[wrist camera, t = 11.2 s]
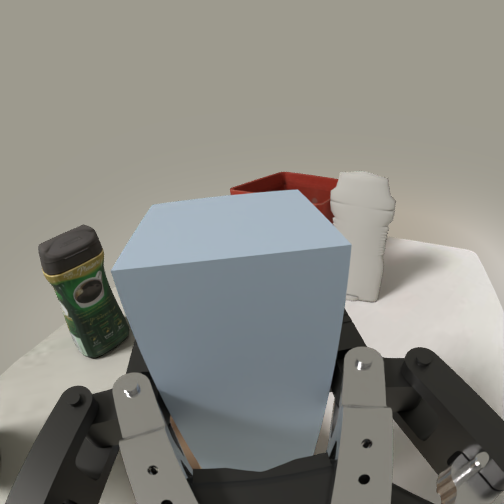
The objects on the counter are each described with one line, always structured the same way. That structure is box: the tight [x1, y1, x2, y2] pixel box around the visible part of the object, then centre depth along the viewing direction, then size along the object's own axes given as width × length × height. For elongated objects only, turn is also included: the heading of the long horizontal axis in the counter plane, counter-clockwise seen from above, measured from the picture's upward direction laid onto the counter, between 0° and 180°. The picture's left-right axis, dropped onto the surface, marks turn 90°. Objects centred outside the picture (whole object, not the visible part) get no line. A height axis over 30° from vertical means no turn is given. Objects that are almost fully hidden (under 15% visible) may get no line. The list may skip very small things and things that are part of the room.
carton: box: [111, 189, 352, 472], centre depth 11 cm, size 5×4×14 cm
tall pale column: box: [330, 171, 396, 302], centre depth 46 cm, size 11×4×22 cm, turn 58°
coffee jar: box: [38, 225, 129, 358], centre depth 37 cm, size 10×8×19 cm
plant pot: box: [230, 172, 339, 224], centre depth 59 cm, size 19×19×17 cm
